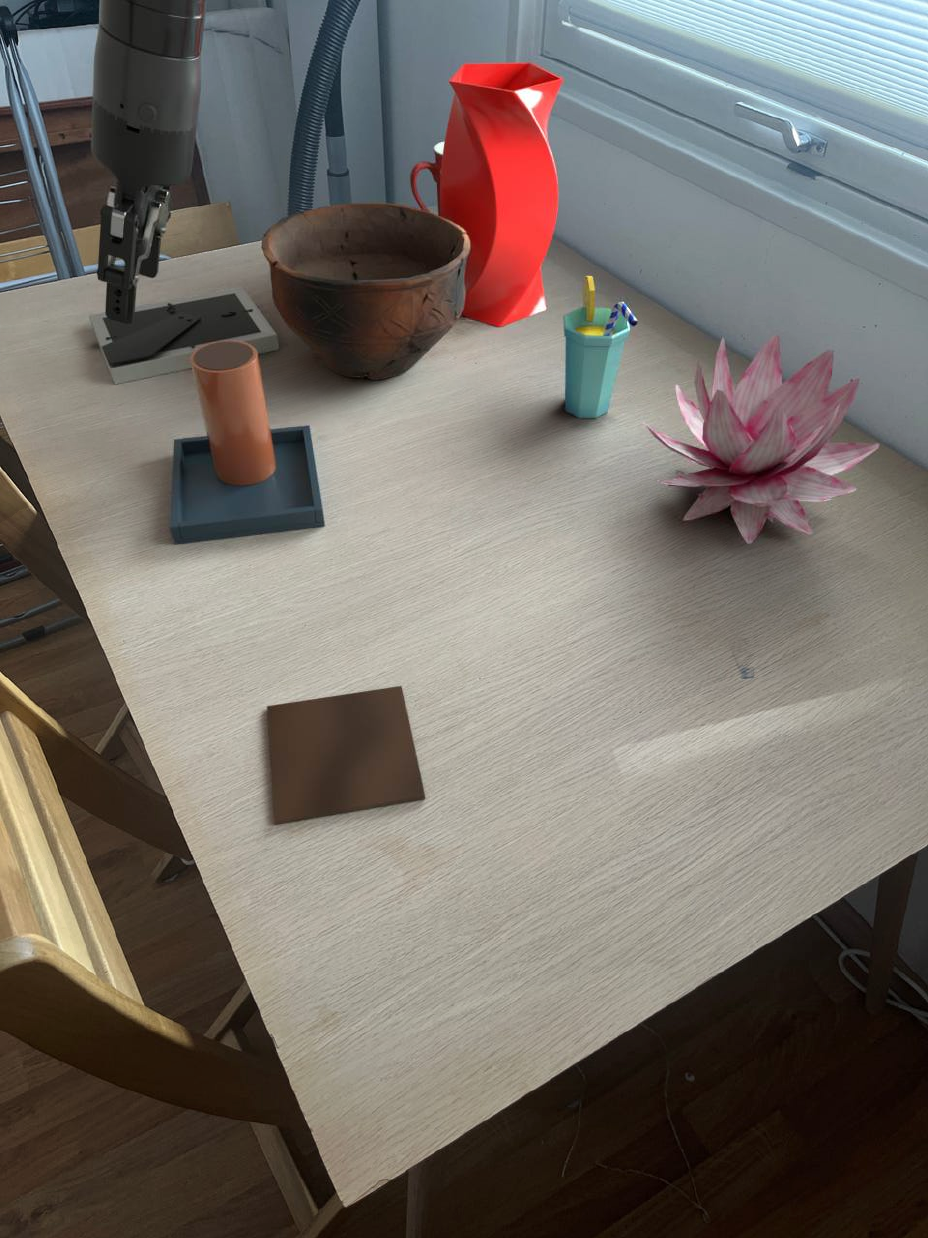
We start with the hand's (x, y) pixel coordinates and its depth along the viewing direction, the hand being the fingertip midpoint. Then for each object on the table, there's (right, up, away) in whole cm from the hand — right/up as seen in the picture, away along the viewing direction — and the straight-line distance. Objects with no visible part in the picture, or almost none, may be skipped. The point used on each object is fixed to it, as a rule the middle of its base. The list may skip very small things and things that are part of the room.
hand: (132, 295), depth 78 cm
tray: (+7, -15, +14) cm, 22 cm away
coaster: (+20, -39, -10) cm, 45 cm away
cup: (+44, -4, +26) cm, 52 cm away
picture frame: (-7, +8, +38) cm, 39 cm away
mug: (+27, +32, +62) cm, 75 cm away
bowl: (+18, +5, +35) cm, 40 cm away
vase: (+33, +16, +46) cm, 59 cm away
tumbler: (+6, -12, +16) cm, 21 cm away
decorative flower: (+58, -16, +14) cm, 62 cm away
